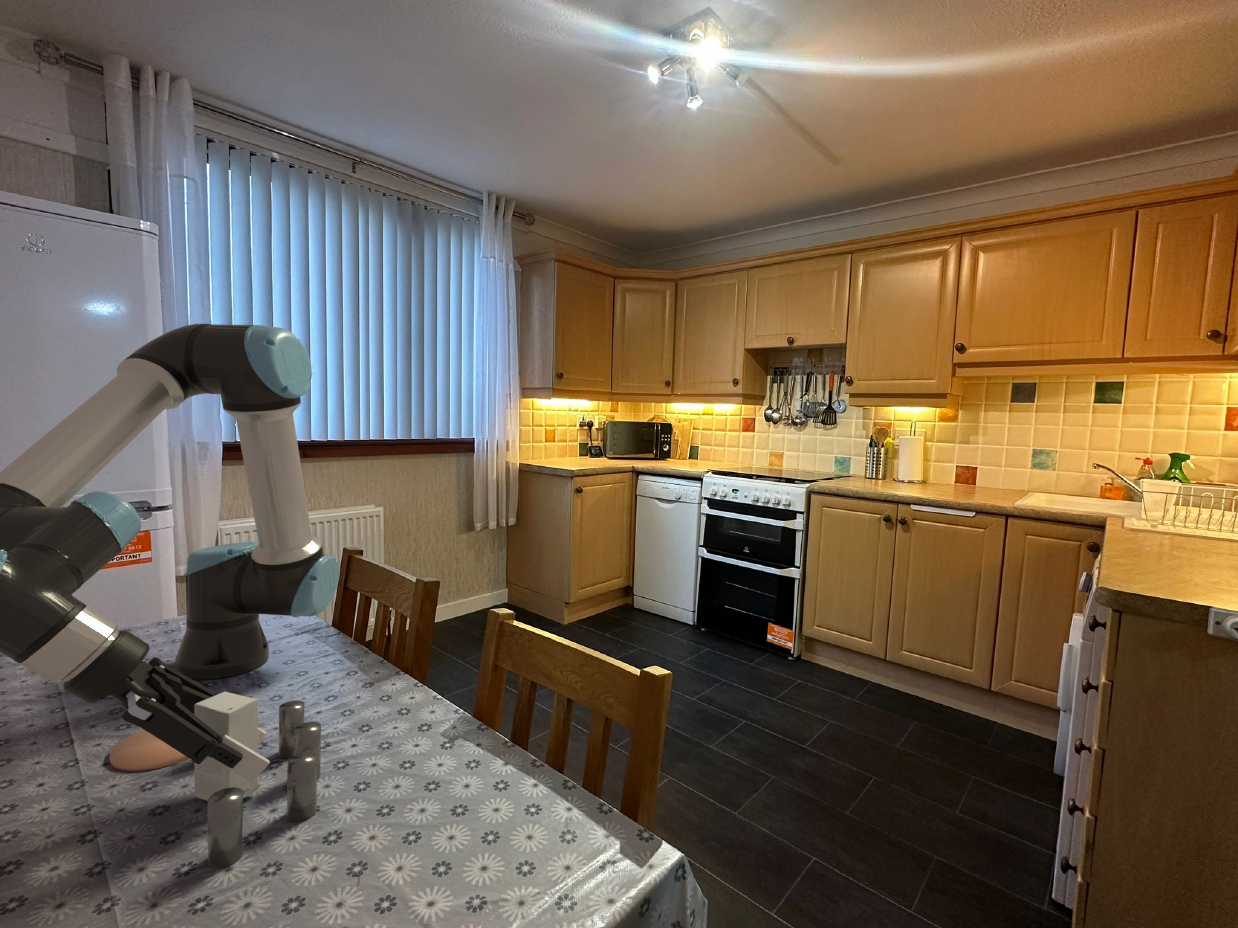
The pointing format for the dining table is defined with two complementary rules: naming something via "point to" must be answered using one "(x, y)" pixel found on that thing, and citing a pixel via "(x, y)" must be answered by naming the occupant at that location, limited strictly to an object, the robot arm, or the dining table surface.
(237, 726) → the skincare box
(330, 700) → the dining table surface
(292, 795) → the set of grey cylinders
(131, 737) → the saucer
